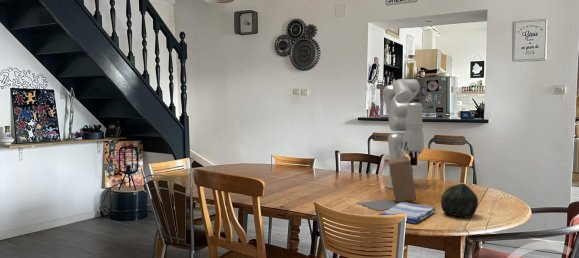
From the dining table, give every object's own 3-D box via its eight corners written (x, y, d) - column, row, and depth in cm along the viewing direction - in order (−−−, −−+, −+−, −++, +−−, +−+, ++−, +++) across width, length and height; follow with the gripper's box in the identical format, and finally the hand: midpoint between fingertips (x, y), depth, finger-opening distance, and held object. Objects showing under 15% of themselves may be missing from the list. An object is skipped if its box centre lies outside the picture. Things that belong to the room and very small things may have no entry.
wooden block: (416, 200, 206) (410, 159, 205) (395, 203, 208) (388, 162, 207) (414, 195, 216) (408, 156, 215) (394, 197, 218) (387, 159, 216)
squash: (440, 197, 198) (442, 176, 187) (475, 200, 194) (479, 179, 183) (439, 223, 188) (442, 203, 178) (476, 227, 184) (481, 207, 174)
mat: (384, 200, 216) (384, 199, 216) (406, 206, 202) (406, 206, 202) (357, 203, 208) (357, 203, 208) (378, 211, 194) (378, 210, 194)
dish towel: (436, 212, 191) (436, 206, 190) (417, 225, 172) (417, 218, 172) (399, 206, 201) (399, 200, 201) (377, 217, 182) (377, 211, 182)
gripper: (419, 127, 218) (419, 163, 219) (397, 128, 212) (396, 165, 213) (431, 128, 212) (430, 165, 213) (408, 128, 205) (407, 167, 206)
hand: (413, 165), depth 213 cm, fingers closed
